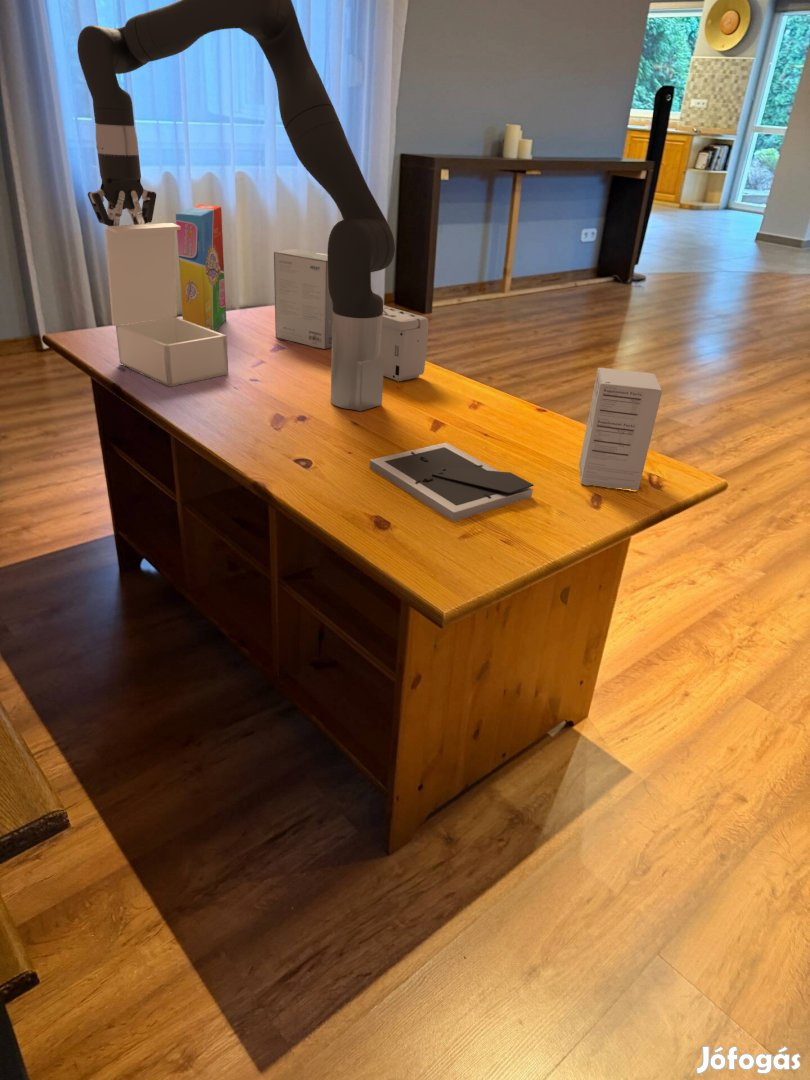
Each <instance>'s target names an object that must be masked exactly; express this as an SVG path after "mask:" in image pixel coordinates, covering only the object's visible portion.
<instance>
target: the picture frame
mask: <svg viewBox="0 0 810 1080" xmlns="http://www.w3.org/2000/svg"><path fill="white" fill-rule="evenodd" d="M369 469H371V470H372V471H374V472H375V473H377V474H378V475H380V476H382V477H383V478H385V479H386V480H388V481H389V482H391V483H392V484H393V485H396V486H397V487H398V488H400V489H402V490H403V491H405V492H406V493H408V494H409V495H411V496H413V498H415V499H417V500H419V501H420V502H422V503H424V504H425V505H427V506H428V507H430V508H431V509H433V510H435V512H438V514H441V515H442V516H444V517H445V518H446V519H448V520H450V521H452V522H456V521H459V520H463V519H466V518H469V517H473V516H476V515H478V514H482V513H486V512H489V511H491V510H495V509H498V508H502V507H504V506H508V504H509V505H512V504H515V503H518V502H521V501H524V500H527V499H531V498H532V496H533V491H534V489H533V488H531V487H534V486H535V485H534V484H533V483H531V482H530V481H527V480H525V478H522V477H520V476H518V475H516V474H514V473H512V472H510V471H500V470H498V469H496V468H495V467H492V466H491V465H489V464H487V463H485V462H483V461H481V460H479V459H478V458H476V457H474V456H472V455H470V454H468V453H466V452H465V451H463V450H461V449H459V448H457V447H456V446H454V445H451V444H450V443H447V442H442V443H439V444H433V445H430V446H429V445H428V446H425V447H421V448H416V449H412V450H408V451H403V452H399V453H394V454H389V455H386V456H382V457H378V458H372V459H370V460H369ZM517 501H518V502H517ZM511 503H512V504H511Z"/></svg>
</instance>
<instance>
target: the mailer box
mask: <svg viewBox="0 0 810 1080" xmlns="http://www.w3.org/2000/svg"><path fill="white" fill-rule="evenodd" d="M115 332H116V340H117V349H118V358H119V364H120V363H121V364H123V365H125V366H127V367H129V368H131V369H133V370H135V371H134V372H136V371H137V372H136V373H138V372H139V373H138V374H140V373H142V374H144V375H146V376H148V377H147V378H149V377H150V378H149V379H151V378H152V379H151V380H153V379H154V380H153V381H155V380H157V381H159V382H160V383H159V382H158V383H159V384H161V383H163V384H162V385H164V384H165V385H164V386H166V385H167V386H166V387H168V386H172V387H175V386H174V385H176V386H180V385H179V384H181V385H184V384H185V383H186V384H190V383H194V382H199V381H203V380H208V379H212V378H217V377H221V376H225V375H229V360H228V358H229V357H228V355H229V354H228V339H227V337H228V336H227V335H226V334H223V333H220V332H218V331H217V330H215V331H213V330H210V329H208V328H205V327H202V326H199V325H197V324H194V323H191V322H189V321H186V320H183V318H180V317H177V316H176V317H169V318H162V319H156V320H149V321H142V322H135V323H129V324H122V325H115ZM123 365H122V366H123ZM125 366H124V367H125ZM127 367H126V368H127ZM129 368H128V369H129ZM131 369H130V370H131ZM133 370H132V371H133ZM142 374H141V375H142ZM144 375H143V376H144ZM146 376H145V377H146ZM157 381H156V382H157Z"/></svg>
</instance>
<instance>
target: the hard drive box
mask: <svg viewBox="0 0 810 1080" xmlns="http://www.w3.org/2000/svg"><path fill="white" fill-rule="evenodd" d="M273 271H274V273H273V274H274V275H273V276H274V277H273V278H274V280H273V281H274V320H275V321H274V323H275V329H274V330H275V338H278V339H282V340H285V341H288V342H293V343H298V344H300V345H301V344H303V345H306V346H309V347H312V348H318V349H321V350H326V349H327V350H328V349H330V348H332V315H333V304H332V300H331V297H330V294H329V288H328V253H321V252H315V251H308V250H301V249H295V248H292V249H290V248H289V249H285V250H278V251H274V252H273Z"/></svg>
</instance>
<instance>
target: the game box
mask: <svg viewBox="0 0 810 1080" xmlns="http://www.w3.org/2000/svg"><path fill="white" fill-rule="evenodd" d="M222 214H223V213H222V206H221V205H212V204H210V205H209V204H198V205H196V206H193V207H191V208H189V209H186V210H184V211H183V210H182V211H180V212H177V213H175V223H176V225H178V226H181V230H176V239H177V252H178V254H177V255H178V268H179V282H180V297H181V313H182V314H181V315H182V319H183V320H186V321H189V322H191V323H194V324H197V325H199V326H202V327H205V328H208V329H210V330H213V331H217V330H218V329H219V328H220V327H221V326H220V325H221V324H222V323H223V322H224V321H225V320H227V308H226V307H227V306H226V284H225V263H224V262H225V261H224V258H225V257H224V242H223V241H224V240H223V236H224V235H223V216H222ZM225 322H226V321H225ZM225 322H224V323H225ZM224 323H223V324H224ZM219 326H220V327H219ZM218 327H219V328H218ZM217 328H218V329H217Z"/></svg>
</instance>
